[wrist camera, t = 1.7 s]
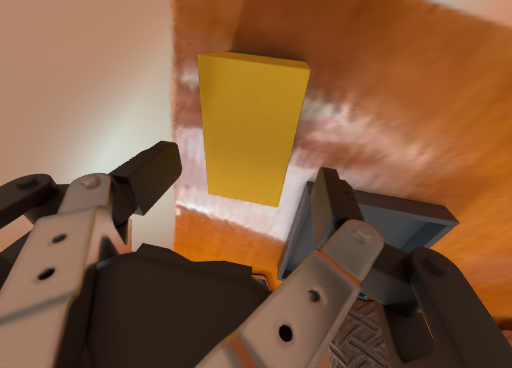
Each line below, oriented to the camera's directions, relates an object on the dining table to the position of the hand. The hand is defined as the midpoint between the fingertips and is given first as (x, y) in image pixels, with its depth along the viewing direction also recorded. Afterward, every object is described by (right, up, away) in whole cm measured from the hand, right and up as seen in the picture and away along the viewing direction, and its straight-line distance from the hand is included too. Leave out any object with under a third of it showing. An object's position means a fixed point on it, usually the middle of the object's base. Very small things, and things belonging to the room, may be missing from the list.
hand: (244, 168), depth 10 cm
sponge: (+1, +5, +5) cm, 7 cm away
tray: (+11, -9, +13) cm, 19 cm away
